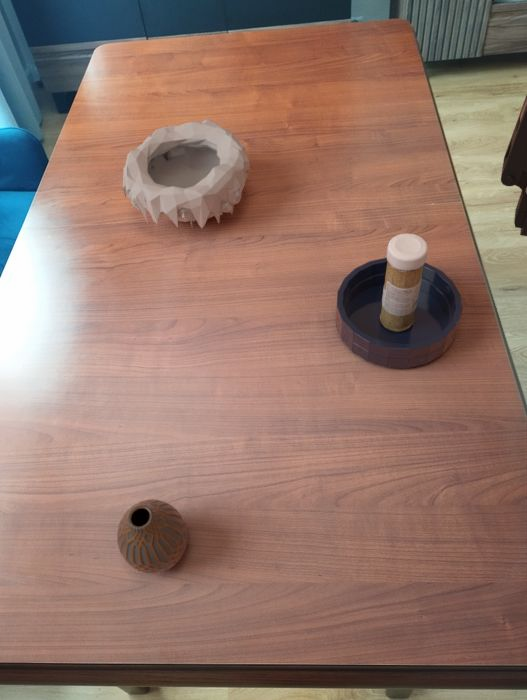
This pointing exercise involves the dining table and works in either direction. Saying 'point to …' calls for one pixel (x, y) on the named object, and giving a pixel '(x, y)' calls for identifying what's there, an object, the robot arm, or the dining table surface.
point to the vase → (152, 536)
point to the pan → (388, 346)
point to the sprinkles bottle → (402, 281)
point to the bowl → (186, 173)
